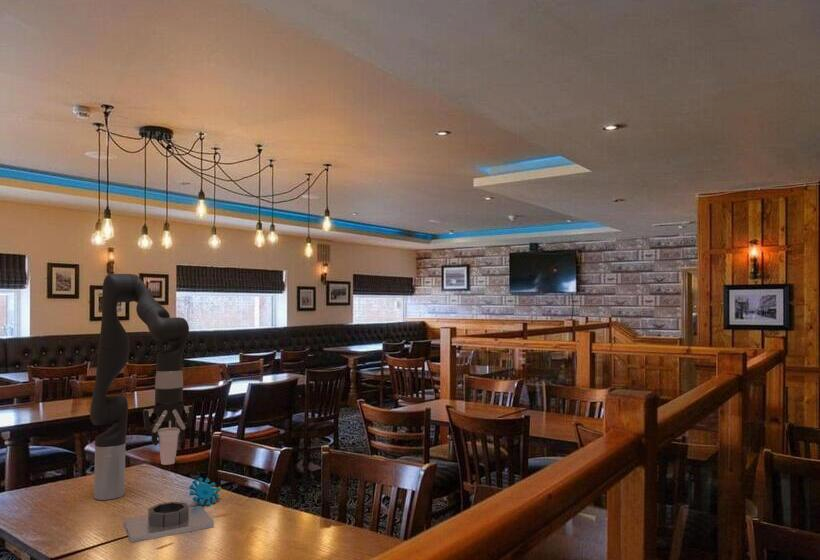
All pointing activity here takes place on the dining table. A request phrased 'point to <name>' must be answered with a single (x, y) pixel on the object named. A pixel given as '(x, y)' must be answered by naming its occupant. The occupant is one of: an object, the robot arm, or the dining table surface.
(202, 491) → the gear
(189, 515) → the hub plate
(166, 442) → the smoothie
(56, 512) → the dining table surface
